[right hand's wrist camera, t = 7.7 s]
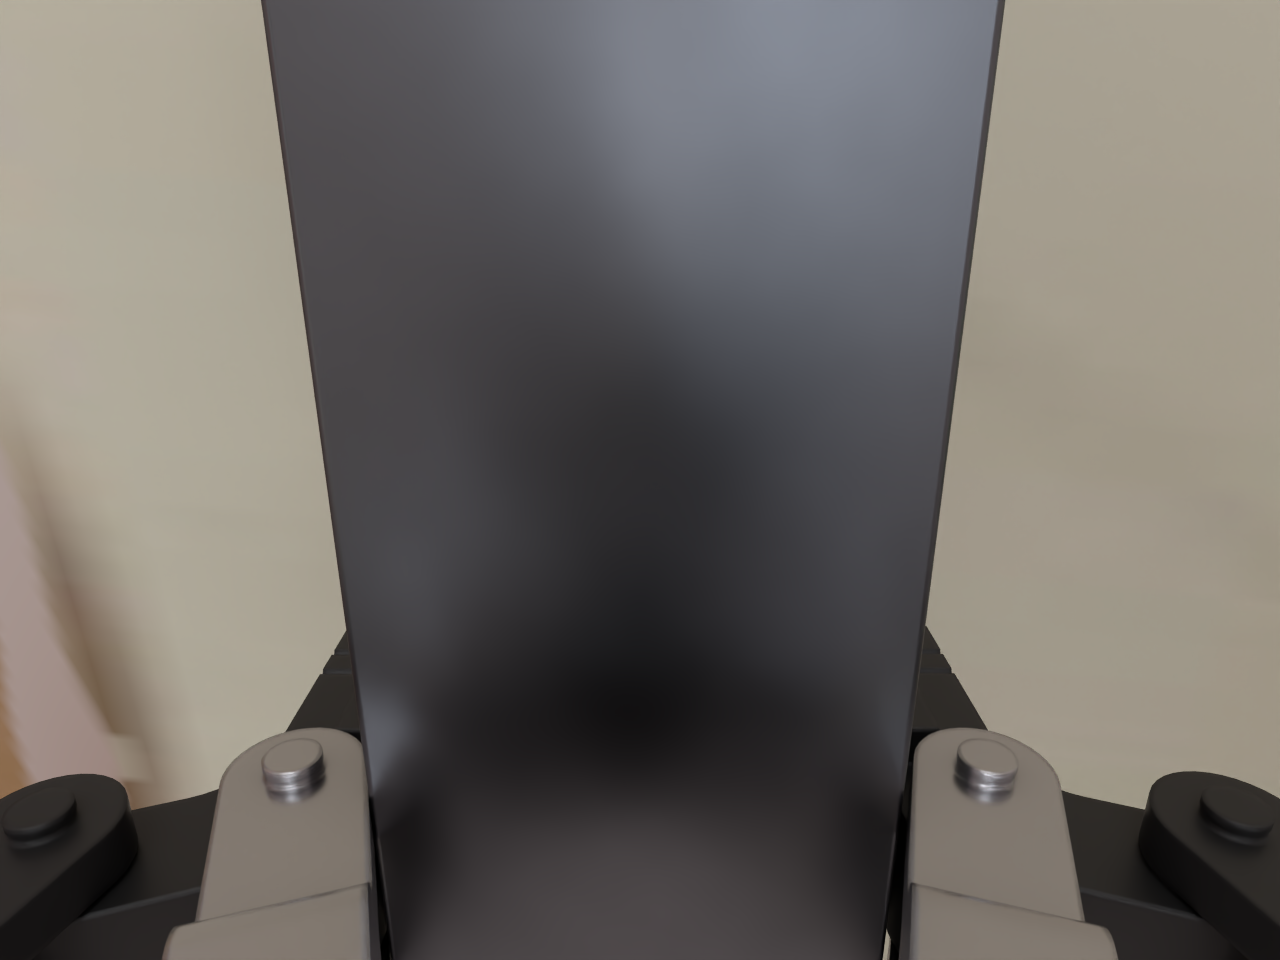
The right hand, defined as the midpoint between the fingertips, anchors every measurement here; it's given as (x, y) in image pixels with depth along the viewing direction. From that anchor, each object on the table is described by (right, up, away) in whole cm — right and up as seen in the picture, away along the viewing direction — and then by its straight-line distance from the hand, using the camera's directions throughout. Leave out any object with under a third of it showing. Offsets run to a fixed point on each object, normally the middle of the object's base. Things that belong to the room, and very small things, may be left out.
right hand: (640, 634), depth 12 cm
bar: (0, +10, +1) cm, 10 cm away
